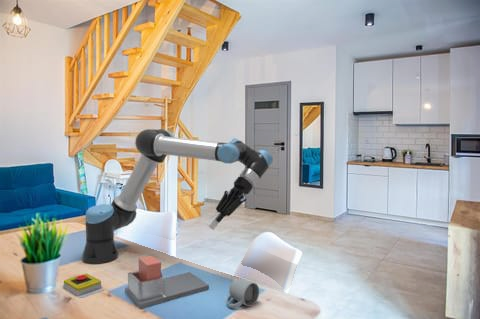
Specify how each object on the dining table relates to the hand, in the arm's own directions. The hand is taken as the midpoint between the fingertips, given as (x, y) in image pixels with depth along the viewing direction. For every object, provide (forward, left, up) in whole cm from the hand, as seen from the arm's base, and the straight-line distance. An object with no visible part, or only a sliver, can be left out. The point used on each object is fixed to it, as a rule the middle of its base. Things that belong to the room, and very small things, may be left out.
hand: (210, 227), depth 139 cm
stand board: (0, -18, -21) cm, 27 cm away
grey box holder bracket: (0, -26, -19) cm, 32 cm away
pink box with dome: (0, -24, -19) cm, 31 cm away
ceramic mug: (+23, -1, -21) cm, 31 cm away
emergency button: (-19, -43, -22) cm, 51 cm away
